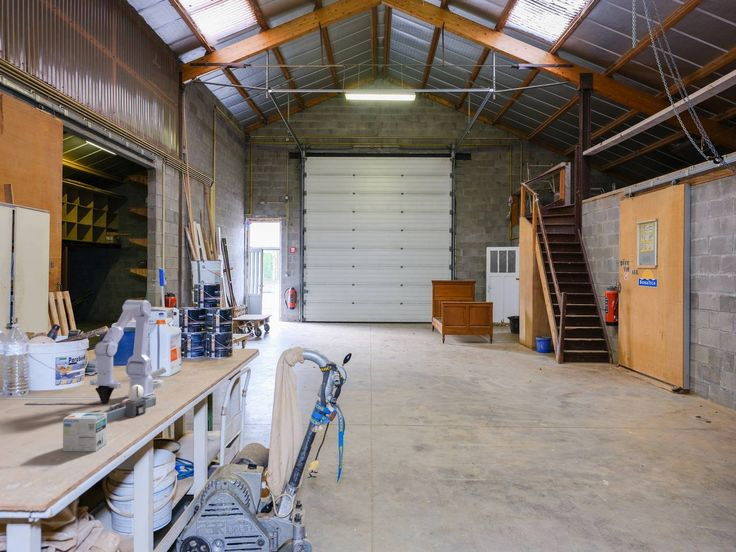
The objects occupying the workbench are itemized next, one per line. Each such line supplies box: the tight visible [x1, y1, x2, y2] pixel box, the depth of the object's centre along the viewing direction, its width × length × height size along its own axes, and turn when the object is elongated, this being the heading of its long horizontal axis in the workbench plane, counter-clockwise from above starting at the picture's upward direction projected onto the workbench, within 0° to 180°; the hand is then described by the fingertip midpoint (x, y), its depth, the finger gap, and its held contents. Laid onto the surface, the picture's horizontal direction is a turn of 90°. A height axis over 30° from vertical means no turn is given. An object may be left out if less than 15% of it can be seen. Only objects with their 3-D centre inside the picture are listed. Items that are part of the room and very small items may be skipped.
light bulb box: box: [62, 411, 108, 452], centre depth 149 cm, size 11×7×11 cm, turn 92°
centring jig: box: [73, 385, 157, 422], centre depth 185 cm, size 27×18×12 cm
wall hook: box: [149, 366, 167, 389], centre depth 227 cm, size 9×10×10 cm
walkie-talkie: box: [101, 398, 143, 413], centre depth 189 cm, size 9×4×20 cm
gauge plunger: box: [123, 406, 143, 414], centre depth 183 cm, size 2×8×2 cm, turn 70°
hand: (105, 404), depth 189 cm, fingers closed
